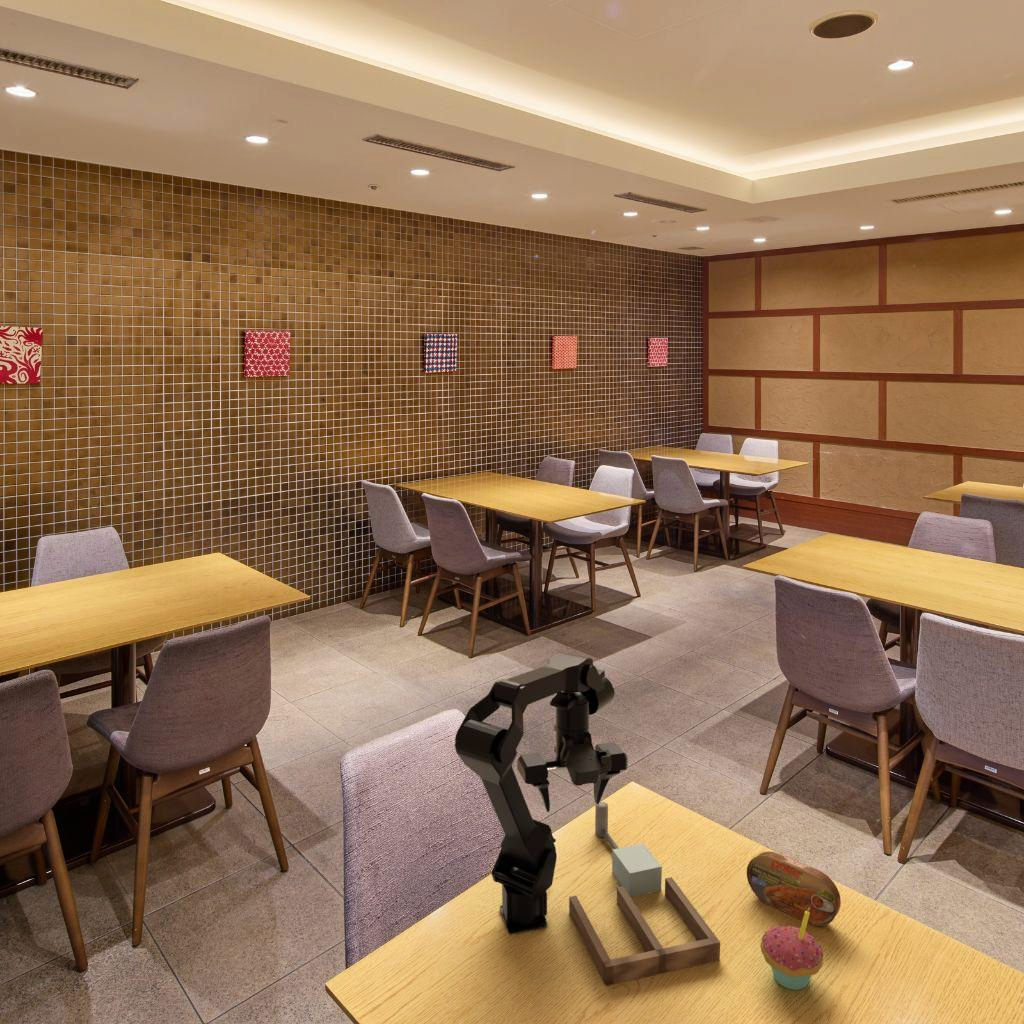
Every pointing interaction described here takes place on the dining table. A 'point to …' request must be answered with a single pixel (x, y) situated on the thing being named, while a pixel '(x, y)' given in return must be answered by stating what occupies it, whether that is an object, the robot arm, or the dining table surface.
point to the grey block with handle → (629, 860)
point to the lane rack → (648, 939)
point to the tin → (794, 888)
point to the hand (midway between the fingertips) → (572, 806)
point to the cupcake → (792, 954)
